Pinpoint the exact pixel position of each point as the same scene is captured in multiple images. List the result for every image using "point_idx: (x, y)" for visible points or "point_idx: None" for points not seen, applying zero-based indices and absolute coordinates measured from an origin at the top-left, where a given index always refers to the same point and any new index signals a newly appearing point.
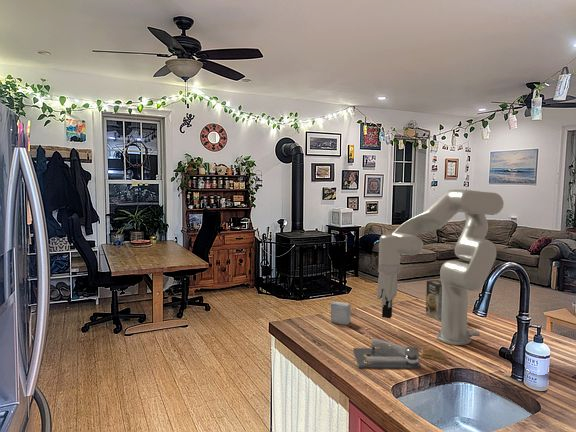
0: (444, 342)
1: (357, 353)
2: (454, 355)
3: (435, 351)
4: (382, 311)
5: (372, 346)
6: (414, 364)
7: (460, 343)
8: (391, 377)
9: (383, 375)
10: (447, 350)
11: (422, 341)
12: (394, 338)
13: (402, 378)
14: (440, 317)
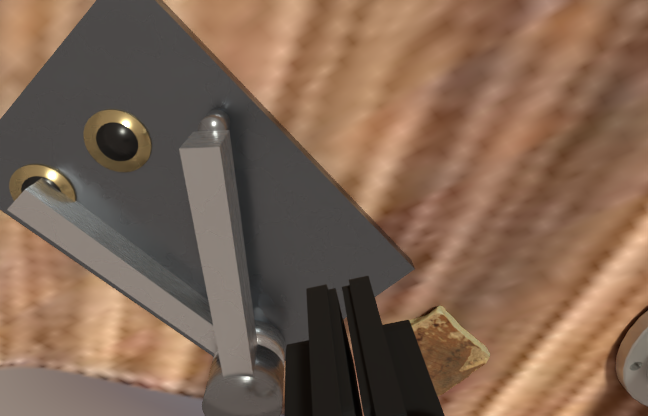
0: (627, 332)
1: (77, 62)
2: (488, 402)
3: (452, 367)
4: (309, 348)
5: (200, 131)
6: None
7: (629, 393)
8: (60, 331)
9: (39, 300)
10: (531, 368)
11: (597, 247)
12: (565, 93)
13: (98, 362)
14: None
